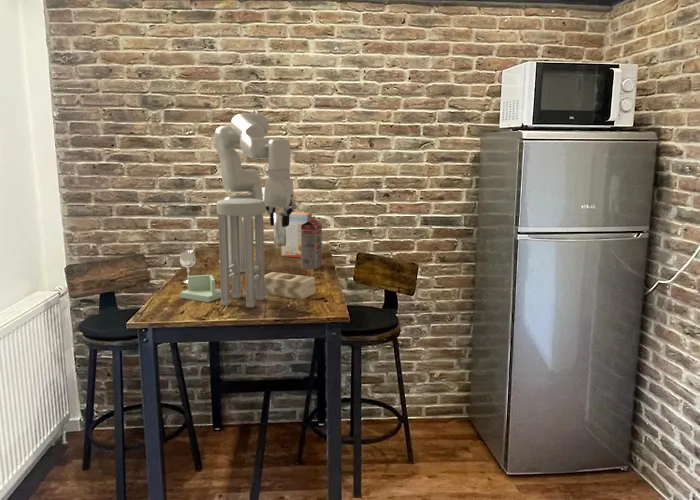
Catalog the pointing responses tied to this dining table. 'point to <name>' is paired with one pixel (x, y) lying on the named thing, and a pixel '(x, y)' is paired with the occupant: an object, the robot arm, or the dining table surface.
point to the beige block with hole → (289, 285)
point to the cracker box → (294, 234)
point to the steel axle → (279, 229)
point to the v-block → (201, 289)
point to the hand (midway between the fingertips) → (279, 225)
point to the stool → (234, 211)
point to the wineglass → (187, 260)
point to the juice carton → (311, 244)
